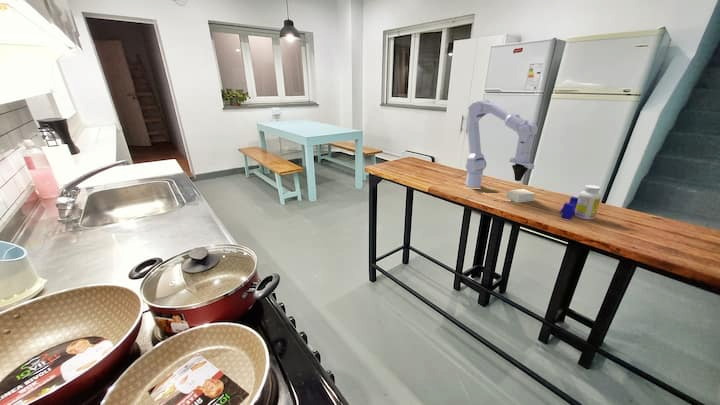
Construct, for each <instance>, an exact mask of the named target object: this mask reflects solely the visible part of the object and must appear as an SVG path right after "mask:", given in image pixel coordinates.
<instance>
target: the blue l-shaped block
mask: <svg viewBox="0 0 720 405" xmlns="http://www.w3.org/2000/svg"><path fill="white" fill-rule="evenodd" d="M578 198H579V197H575V196H571V197H570V199H569V202H565V203H563V206H562V208H561V209H560V213H561V212H562V213H561V217H560V218H562V219H566V220H568V221H570V220H571V219H572V218H573V217H572V216H574V215H575V209H576V206H577V202H578Z"/></svg>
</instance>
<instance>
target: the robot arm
mask: <svg viewBox="0 0 720 405" xmlns="http://www.w3.org/2000/svg"><path fill="white" fill-rule="evenodd" d="M467 109H468V113H467V117H466V128H467V139H468V140H467V141H468V149H469V150H468V151H469V155H468V156H467V157H466V164H465V170H466V172H467V174H466V180H465V184H466V185H467V186H468V187H471V188H480V187H481V188H482V178H483V174H484V170H485V169H486V168H487V161H486V159H485V155H484V154H483V152H482V146H481V137H480V123H479V122H480V120H481V119H482V118H483V117H484V116H486V115H488V114H491V115H493V116H495V117H496V118H498V119H500V120H501V121H503V122H504V125H505V126H506V127H507V128H509V129H511V130H513V131H514V132H515V133H516V134H517V136H518V141H517V145H516V150H515V151H516V152H515V157H510V158H509V163H513V164H512V165H511V167H512V169H513V174H514V181H515V182H521V181H522V179H523V178H524V176H525V174H526V172H527V171H528V170H534V169H535V164H534V163H532V162H530V160H531V158H530V157H531V153H532V148H533V144H534V138H535V136H536V134H537V133H538V131H539V128H538V126H537V124H535V122H529V120H528V119H526V120H525V119H524V118H522V117H520V114H518V113H516V114H515V113H512V114H510V113H508V112H507V111H506V110H504V109H502V108H501V107H500V106H498V105H497V104H495V102H491V101H490V100H474V101H473V102H471V104H469V106H468V108H467Z"/></svg>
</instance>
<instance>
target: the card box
mask: <svg viewBox="0 0 720 405" xmlns="http://www.w3.org/2000/svg"><path fill="white" fill-rule="evenodd" d="M506 193H507V198H509V199H511V200H513V201H515V202H514V203H526V202H527V201H531V202H534V201H535V198H536V193H535V192H532V191H530V190H527V189H525V188H521V189H520V188H519V189H511V190H507V191H506Z"/></svg>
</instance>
